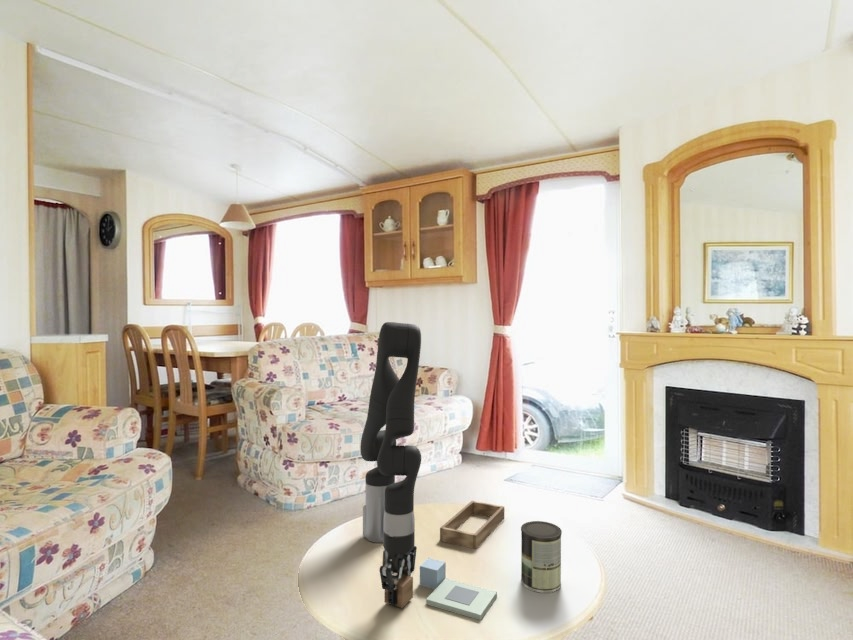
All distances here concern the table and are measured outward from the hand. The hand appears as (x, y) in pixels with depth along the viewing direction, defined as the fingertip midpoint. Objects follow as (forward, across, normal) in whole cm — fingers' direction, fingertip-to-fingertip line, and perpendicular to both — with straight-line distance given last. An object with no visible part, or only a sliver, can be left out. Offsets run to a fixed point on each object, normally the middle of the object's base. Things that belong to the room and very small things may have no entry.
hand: (398, 597), depth 122 cm
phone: (+2, -18, -11) cm, 21 cm away
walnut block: (0, 0, 0) cm, 0 cm away
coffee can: (+1, -25, +28) cm, 38 cm away
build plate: (+1, -8, +13) cm, 15 cm away
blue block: (+1, -12, +3) cm, 12 cm away
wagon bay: (+1, -48, 0) cm, 48 cm away
